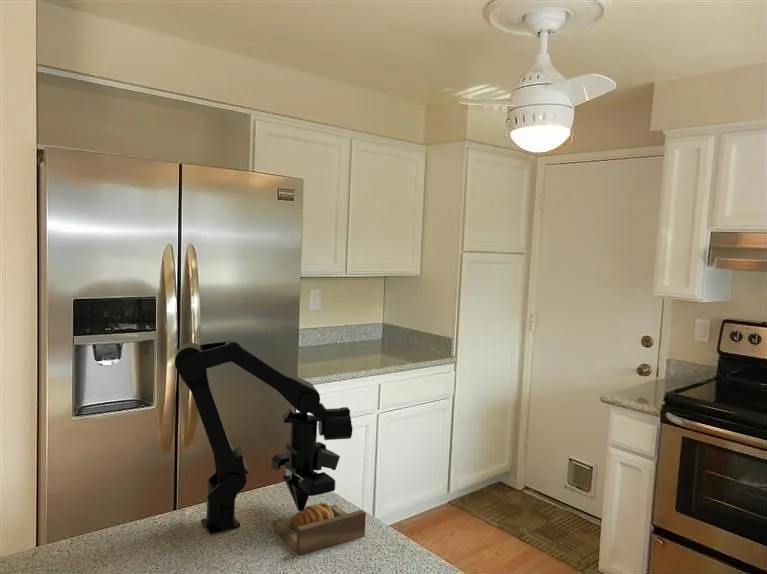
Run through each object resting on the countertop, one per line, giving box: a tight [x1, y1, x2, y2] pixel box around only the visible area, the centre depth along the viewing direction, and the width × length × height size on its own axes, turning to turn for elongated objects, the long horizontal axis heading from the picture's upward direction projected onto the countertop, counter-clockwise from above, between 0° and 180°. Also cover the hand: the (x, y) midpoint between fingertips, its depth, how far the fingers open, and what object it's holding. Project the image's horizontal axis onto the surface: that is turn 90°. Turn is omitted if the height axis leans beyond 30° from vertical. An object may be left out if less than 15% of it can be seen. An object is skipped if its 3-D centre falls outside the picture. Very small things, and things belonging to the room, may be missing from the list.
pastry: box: [289, 502, 334, 531], centre depth 125 cm, size 9×7×4 cm
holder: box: [272, 504, 367, 556], centre depth 121 cm, size 12×15×5 cm
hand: (300, 510), depth 128 cm, fingers closed
